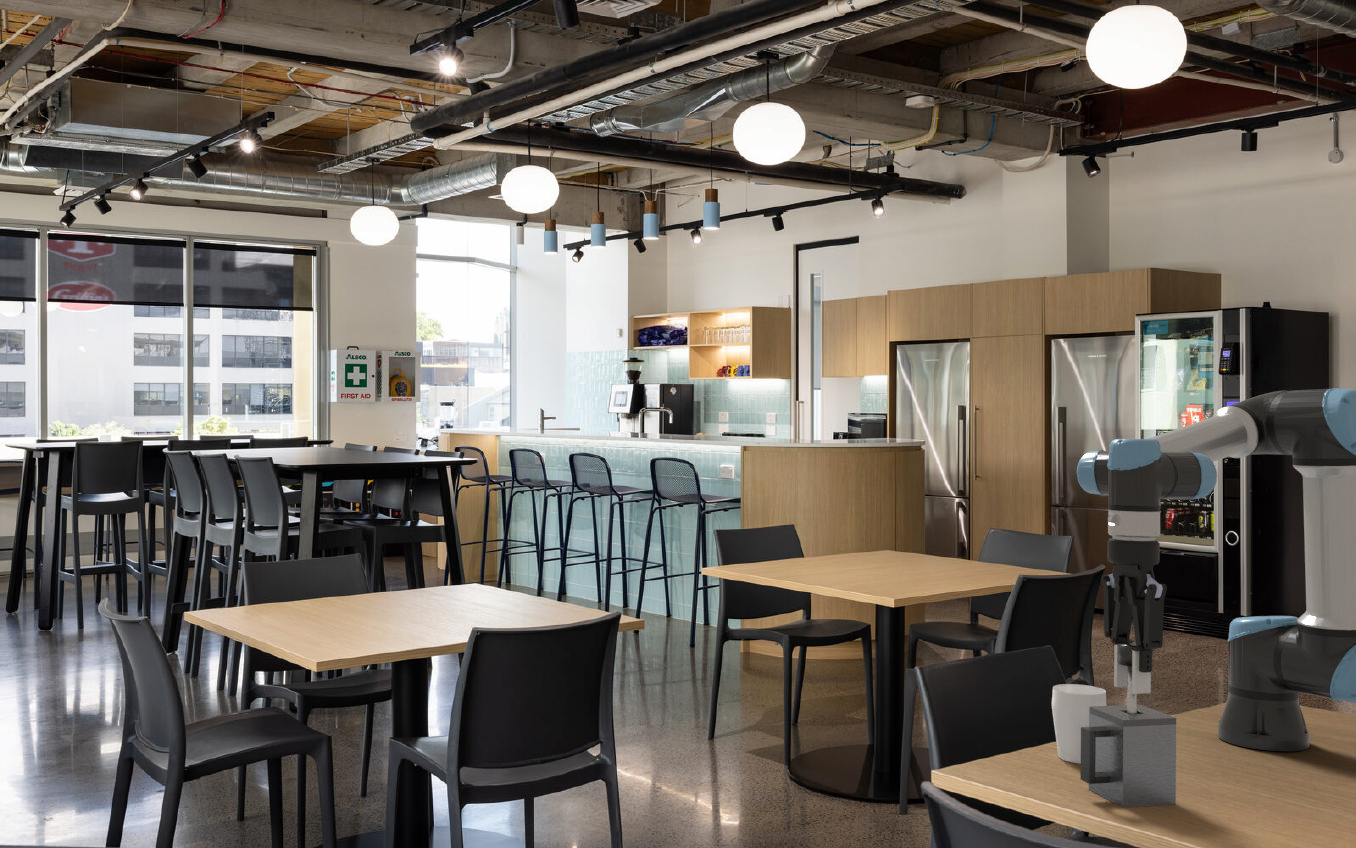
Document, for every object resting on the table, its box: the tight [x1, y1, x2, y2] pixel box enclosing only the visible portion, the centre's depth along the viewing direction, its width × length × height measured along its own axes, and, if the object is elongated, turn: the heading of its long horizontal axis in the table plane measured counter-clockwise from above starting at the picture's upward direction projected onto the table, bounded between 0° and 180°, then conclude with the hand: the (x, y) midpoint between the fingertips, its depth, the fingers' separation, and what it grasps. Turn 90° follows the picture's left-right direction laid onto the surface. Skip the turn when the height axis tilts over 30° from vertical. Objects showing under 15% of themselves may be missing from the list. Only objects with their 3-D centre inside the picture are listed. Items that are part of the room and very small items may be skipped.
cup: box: [1051, 683, 1108, 765], centre depth 199 cm, size 9×9×12 cm
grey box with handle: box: [1080, 704, 1177, 808], centre depth 177 cm, size 12×9×13 cm
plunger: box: [1119, 642, 1138, 714], centre depth 178 cm, size 6×6×20 cm
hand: (1132, 689), depth 178 cm, fingers closed on plunger, 4 cm apart
